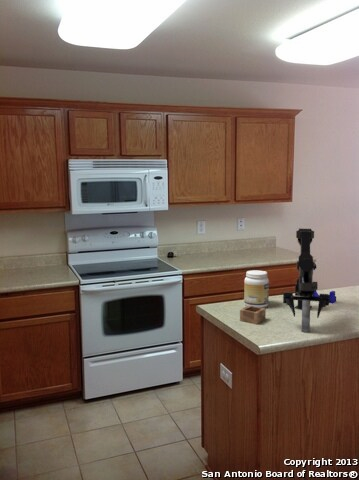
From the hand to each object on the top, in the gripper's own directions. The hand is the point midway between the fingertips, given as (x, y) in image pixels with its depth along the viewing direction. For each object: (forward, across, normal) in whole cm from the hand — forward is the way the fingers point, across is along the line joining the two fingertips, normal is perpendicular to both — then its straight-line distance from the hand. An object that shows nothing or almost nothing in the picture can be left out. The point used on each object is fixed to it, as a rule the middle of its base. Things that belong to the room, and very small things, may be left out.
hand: (306, 316), depth 172 cm
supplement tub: (-19, -23, +29) cm, 41 cm away
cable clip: (-29, +10, +39) cm, 50 cm away
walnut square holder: (-3, -23, +12) cm, 26 cm away
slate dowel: (+4, 0, +6) cm, 7 cm away
